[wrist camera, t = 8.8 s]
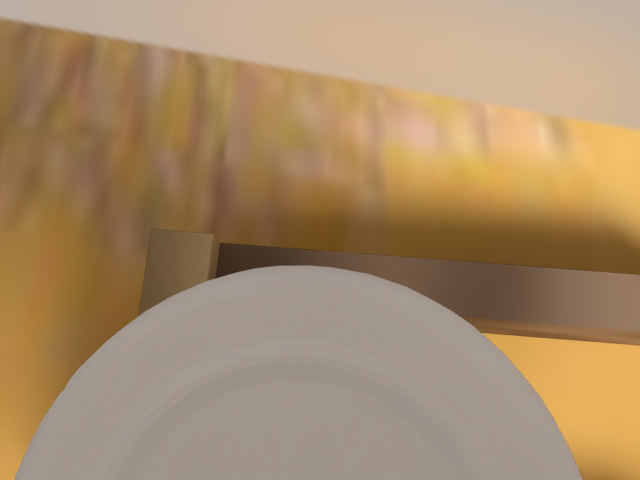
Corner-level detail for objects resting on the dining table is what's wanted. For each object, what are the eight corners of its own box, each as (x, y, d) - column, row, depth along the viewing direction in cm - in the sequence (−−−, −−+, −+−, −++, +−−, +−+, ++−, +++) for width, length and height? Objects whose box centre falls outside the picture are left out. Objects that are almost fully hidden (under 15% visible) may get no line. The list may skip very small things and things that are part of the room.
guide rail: (700, 303, 19) (810, 278, 15) (724, 635, 17) (861, 721, 13) (190, 264, 20) (151, 229, 15) (147, 580, 17) (87, 644, 13)
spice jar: (228, 385, 18) (-92, 369, 5) (372, 332, 18) (467, 171, 5) (277, 545, 16) (46, 1135, 3) (431, 487, 17) (761, 827, 4)
